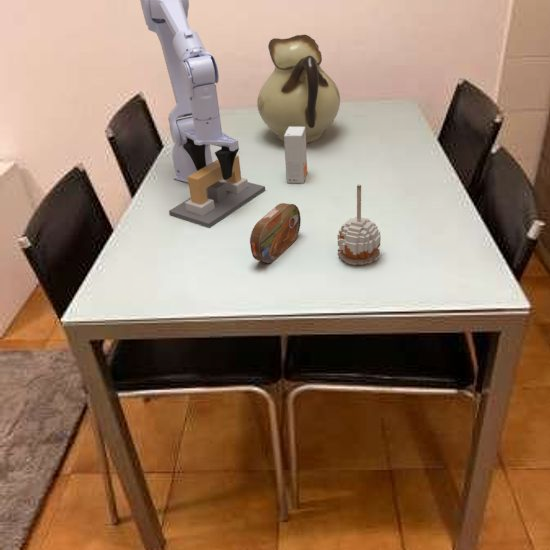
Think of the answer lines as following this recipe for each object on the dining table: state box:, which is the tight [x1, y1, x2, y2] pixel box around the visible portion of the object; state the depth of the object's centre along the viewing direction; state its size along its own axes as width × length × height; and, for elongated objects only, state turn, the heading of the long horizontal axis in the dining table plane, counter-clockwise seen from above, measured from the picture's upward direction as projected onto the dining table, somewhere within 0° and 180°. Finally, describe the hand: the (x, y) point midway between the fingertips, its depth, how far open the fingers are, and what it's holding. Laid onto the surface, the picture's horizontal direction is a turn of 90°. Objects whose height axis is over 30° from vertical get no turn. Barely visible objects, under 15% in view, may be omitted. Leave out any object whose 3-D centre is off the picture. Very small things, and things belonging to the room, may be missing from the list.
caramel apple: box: [336, 184, 382, 266], centre depth 110 cm, size 8×8×15 cm
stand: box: [168, 177, 266, 228], centre depth 136 cm, size 12×20×4 cm, turn 144°
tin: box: [249, 202, 302, 264], centre depth 116 cm, size 15×3×8 cm, turn 148°
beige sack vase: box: [256, 34, 341, 144], centre depth 160 cm, size 22×24×25 cm
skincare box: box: [283, 127, 308, 184], centre depth 141 cm, size 6×4×12 cm
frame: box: [187, 154, 242, 205], centre depth 134 cm, size 3×14×6 cm, turn 144°
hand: (214, 174), depth 133 cm, fingers open, 7 cm apart
